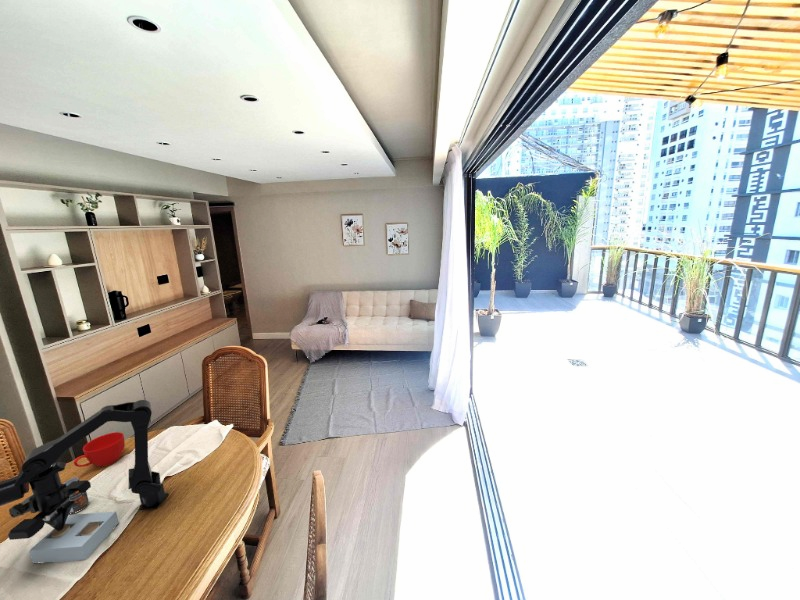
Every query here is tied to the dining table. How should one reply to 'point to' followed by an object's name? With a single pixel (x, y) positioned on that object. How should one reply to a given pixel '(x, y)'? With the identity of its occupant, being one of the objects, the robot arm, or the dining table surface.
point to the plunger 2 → (89, 529)
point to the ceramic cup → (103, 450)
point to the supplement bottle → (77, 498)
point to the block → (75, 539)
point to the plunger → (60, 532)
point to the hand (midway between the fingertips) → (60, 529)
